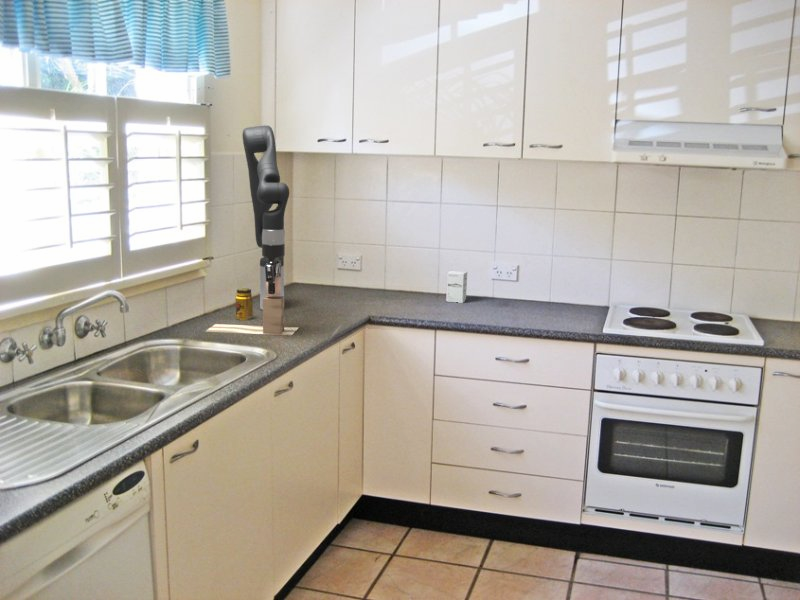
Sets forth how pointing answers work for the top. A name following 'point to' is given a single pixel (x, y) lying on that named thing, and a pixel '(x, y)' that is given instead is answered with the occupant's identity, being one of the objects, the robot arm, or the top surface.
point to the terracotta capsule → (277, 286)
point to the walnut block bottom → (273, 325)
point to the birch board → (246, 329)
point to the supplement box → (456, 286)
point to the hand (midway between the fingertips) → (273, 292)
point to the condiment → (244, 305)
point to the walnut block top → (273, 306)
